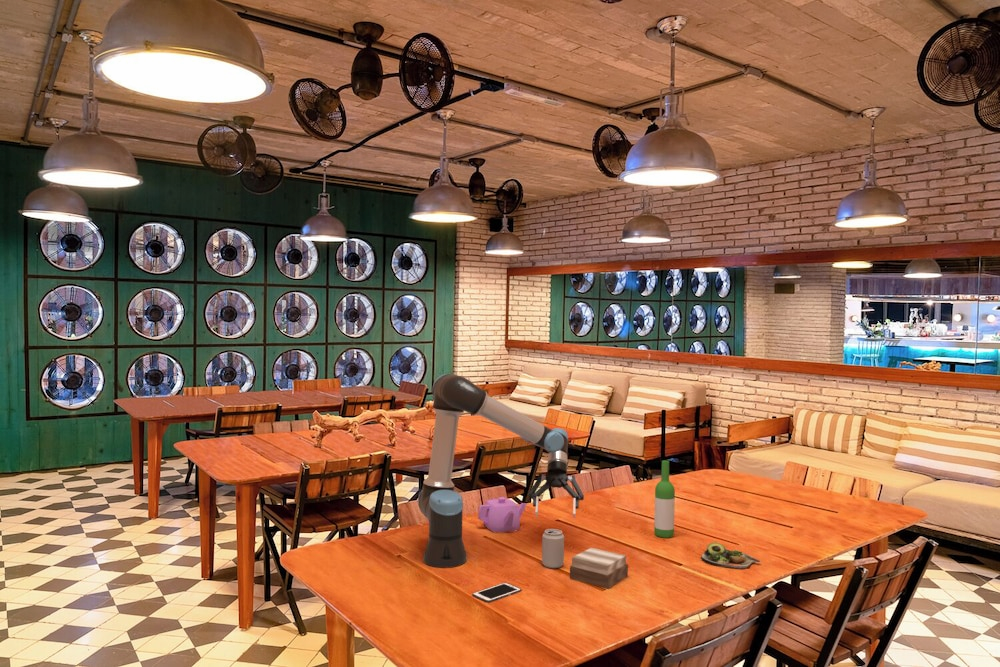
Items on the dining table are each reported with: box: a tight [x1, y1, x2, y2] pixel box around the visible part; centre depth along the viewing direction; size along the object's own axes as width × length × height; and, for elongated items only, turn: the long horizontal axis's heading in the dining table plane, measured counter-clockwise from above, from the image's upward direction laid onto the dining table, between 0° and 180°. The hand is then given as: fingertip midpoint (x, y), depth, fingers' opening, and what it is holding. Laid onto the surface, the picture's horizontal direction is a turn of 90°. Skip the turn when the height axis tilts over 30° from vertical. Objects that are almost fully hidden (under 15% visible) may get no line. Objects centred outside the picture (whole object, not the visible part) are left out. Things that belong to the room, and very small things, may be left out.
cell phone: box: [471, 582, 522, 604], centre depth 209 cm, size 8×15×1 cm, turn 133°
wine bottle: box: [653, 459, 676, 539], centre depth 272 cm, size 8×8×30 cm
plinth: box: [569, 547, 629, 590], centre depth 224 cm, size 14×14×7 cm
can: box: [541, 528, 565, 569], centre depth 235 cm, size 8×8×12 cm
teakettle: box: [477, 496, 528, 533], centre depth 279 cm, size 17×17×12 cm
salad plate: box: [700, 542, 761, 570], centre depth 243 cm, size 19×18×5 cm
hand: (555, 515), depth 245 cm, fingers open, 13 cm apart
